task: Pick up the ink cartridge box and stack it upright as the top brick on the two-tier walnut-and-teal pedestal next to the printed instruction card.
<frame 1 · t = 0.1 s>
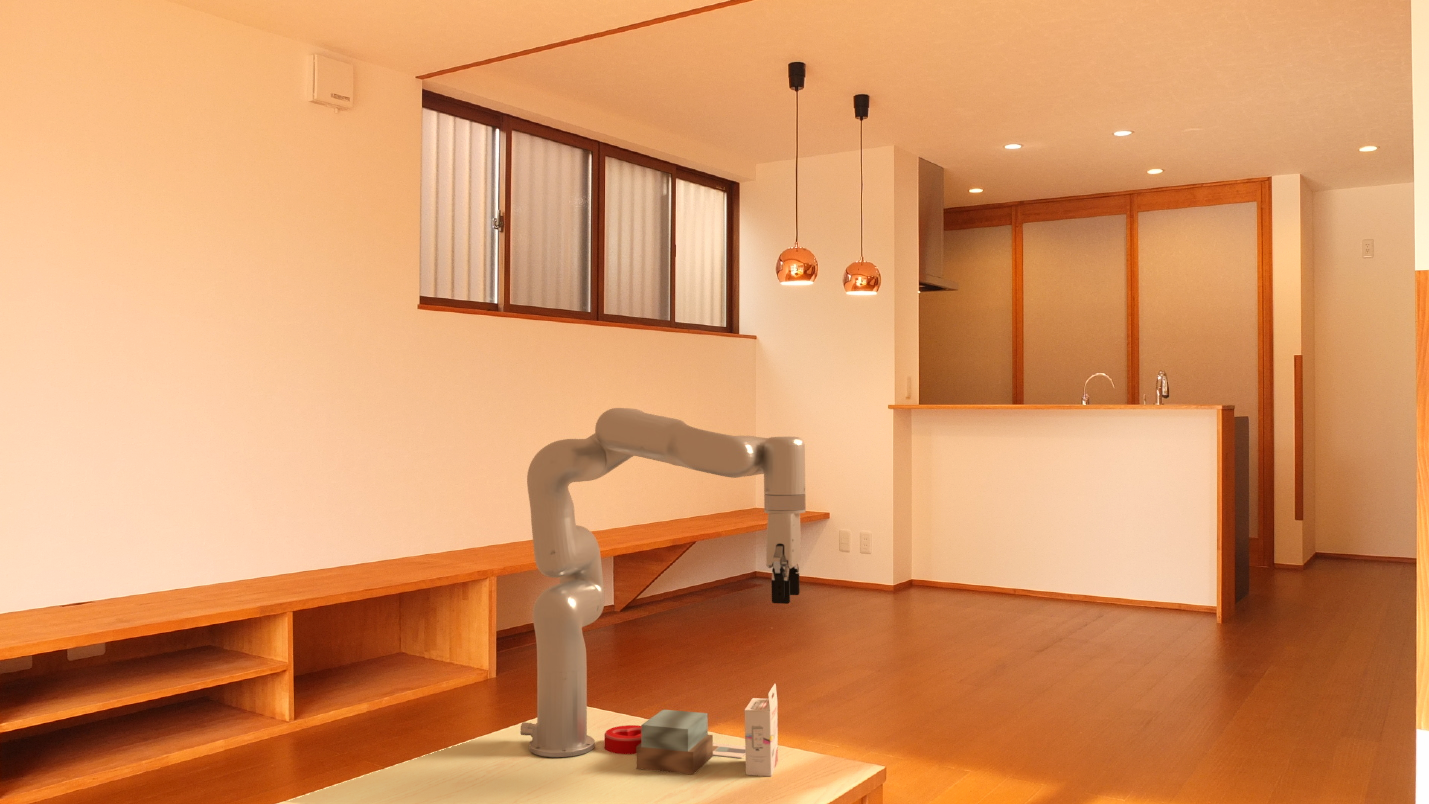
hand: (786, 598, 188), 31 cm above the table, fingers open, 9 cm apart
ink cartridge box: (761, 769, 189), on the table
instruction card: (721, 750, 199), on the table
pedestal: (675, 762, 192), on the table
decorative ornament: (629, 748, 202), on the table
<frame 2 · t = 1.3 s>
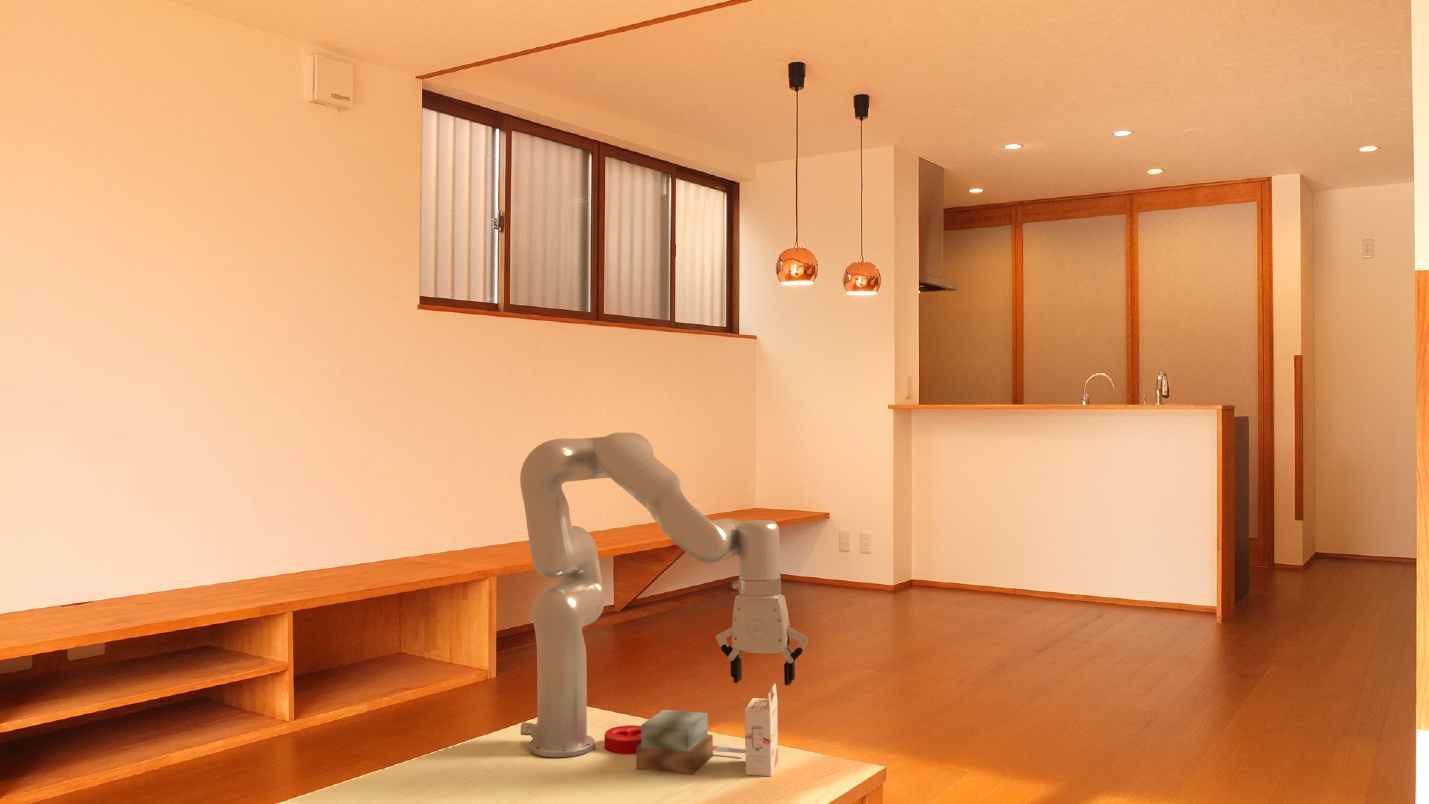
hand: (762, 682, 189), 16 cm above the table, fingers open, 9 cm apart
nothing on the table moved.
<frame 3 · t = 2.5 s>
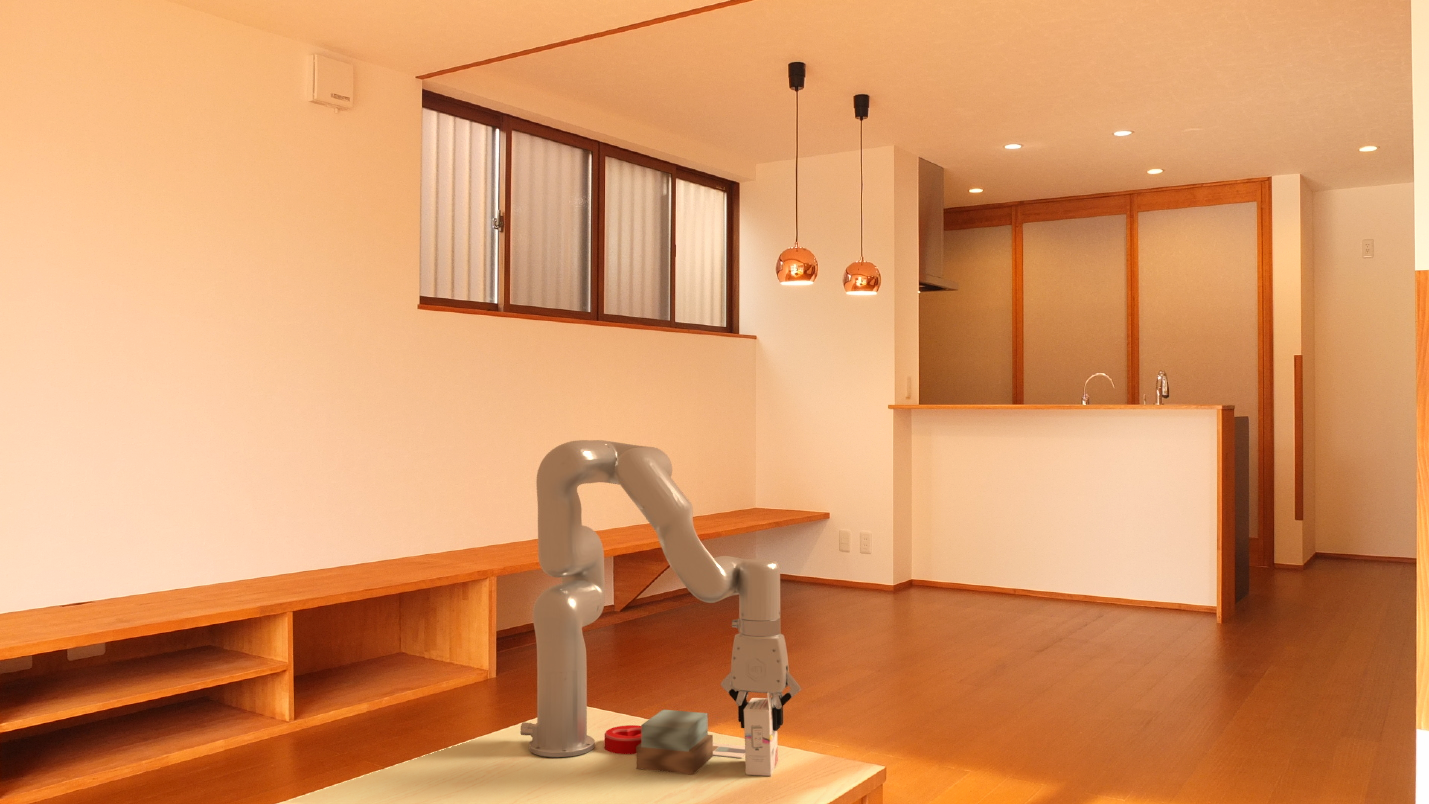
hand: (760, 726, 189), 8 cm above the table, fingers closed on ink cartridge box, 5 cm apart
ink cartridge box: (761, 769, 189), on the table, touching gripper
everything else where it was.
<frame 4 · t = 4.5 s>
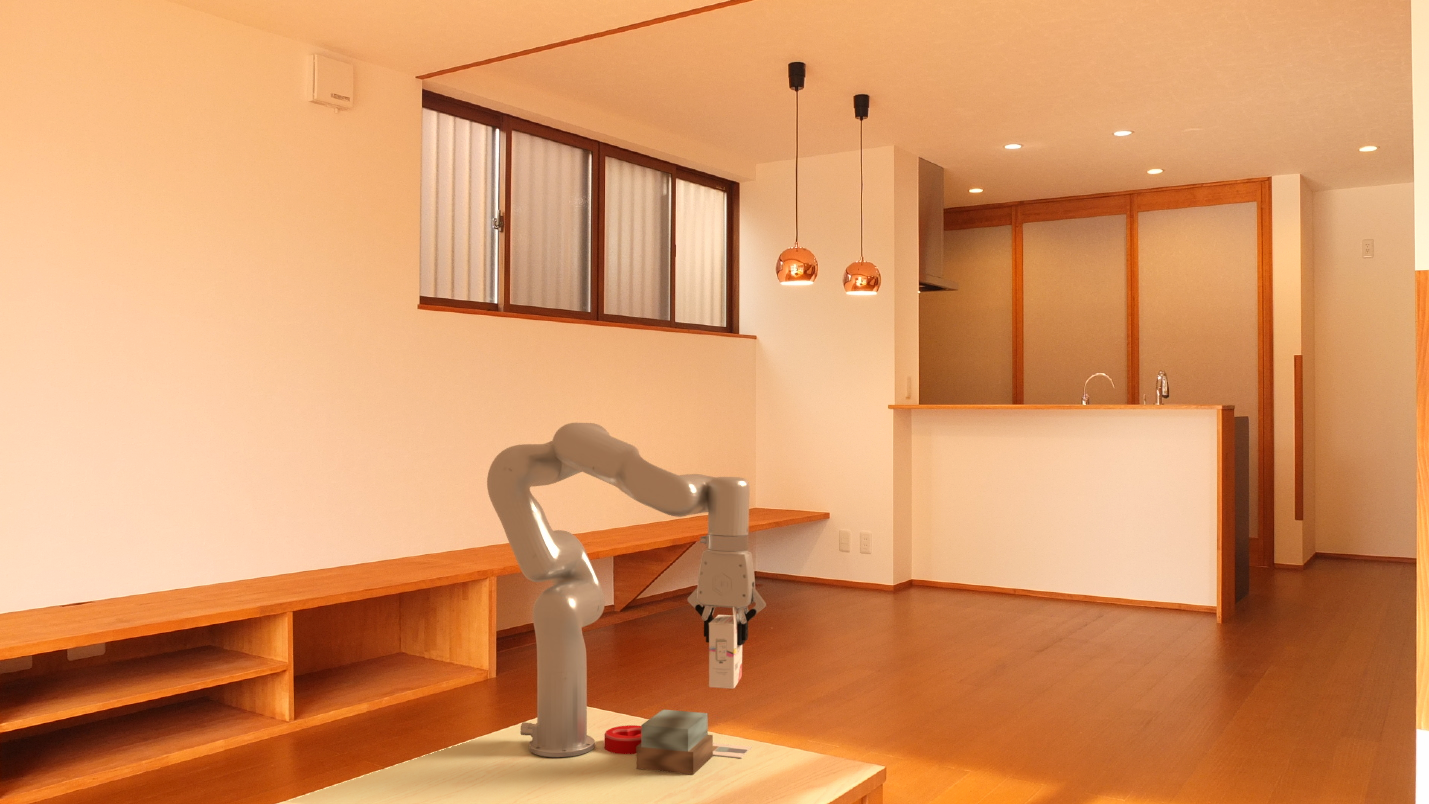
hand: (725, 641, 191), 23 cm above the table, fingers closed on ink cartridge box, 5 cm apart
ink cartridge box: (725, 683, 191), point 15 cm above the table, touching gripper
everything else where it was.
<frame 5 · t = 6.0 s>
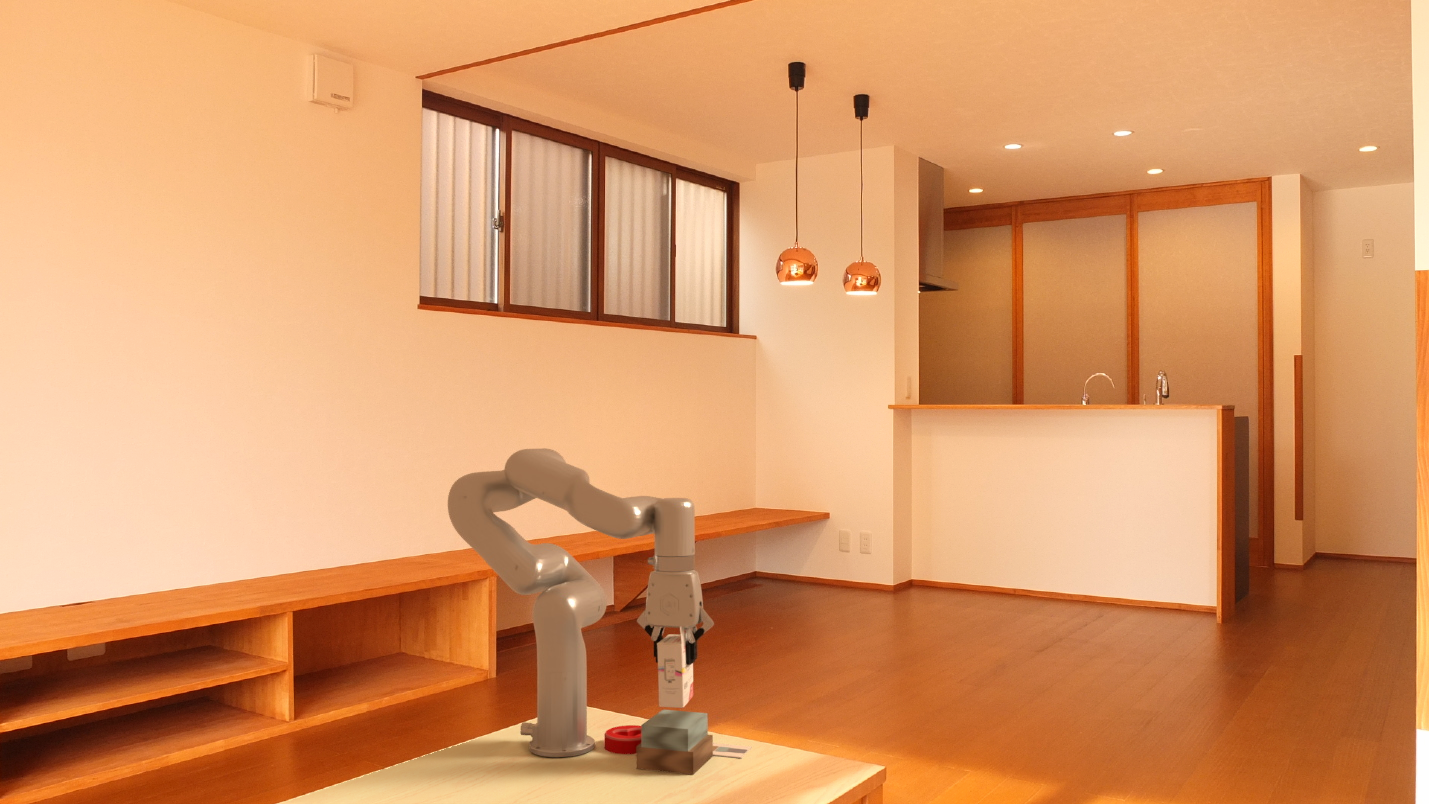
hand: (675, 661, 193), 19 cm above the table, fingers closed on ink cartridge box, 5 cm apart
ink cartridge box: (676, 703, 192), point 11 cm above the table, touching gripper
everything else where it was.
when the fingers open (16 cm above the table, at t = 6.8 s): ink cartridge box stays where it is, resting on pedestal.
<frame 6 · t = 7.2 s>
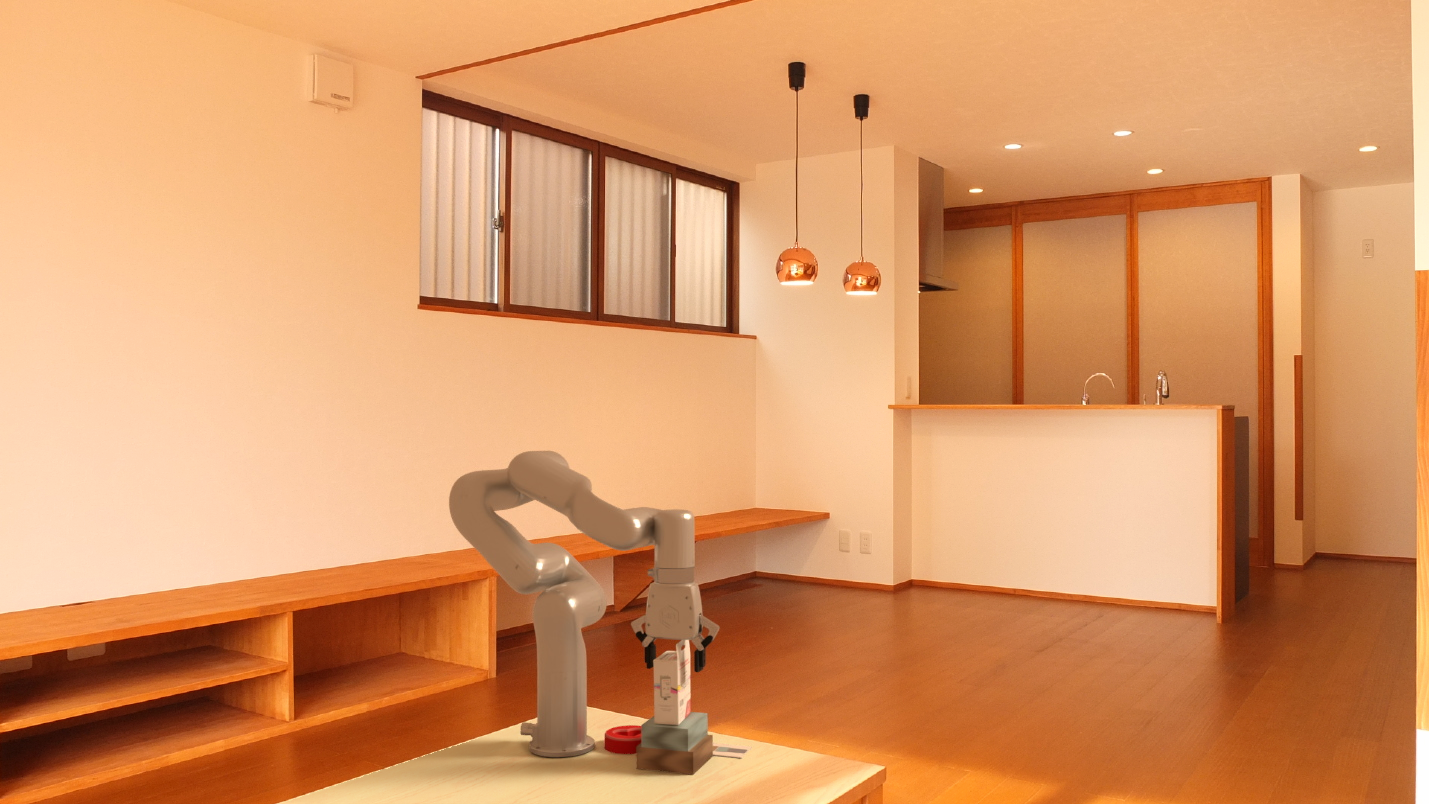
hand: (674, 668, 193), 17 cm above the table, fingers open, 9 cm apart
ink cartridge box: (672, 719, 193), point 8 cm above the table, touching pedestal
everything else where it was.
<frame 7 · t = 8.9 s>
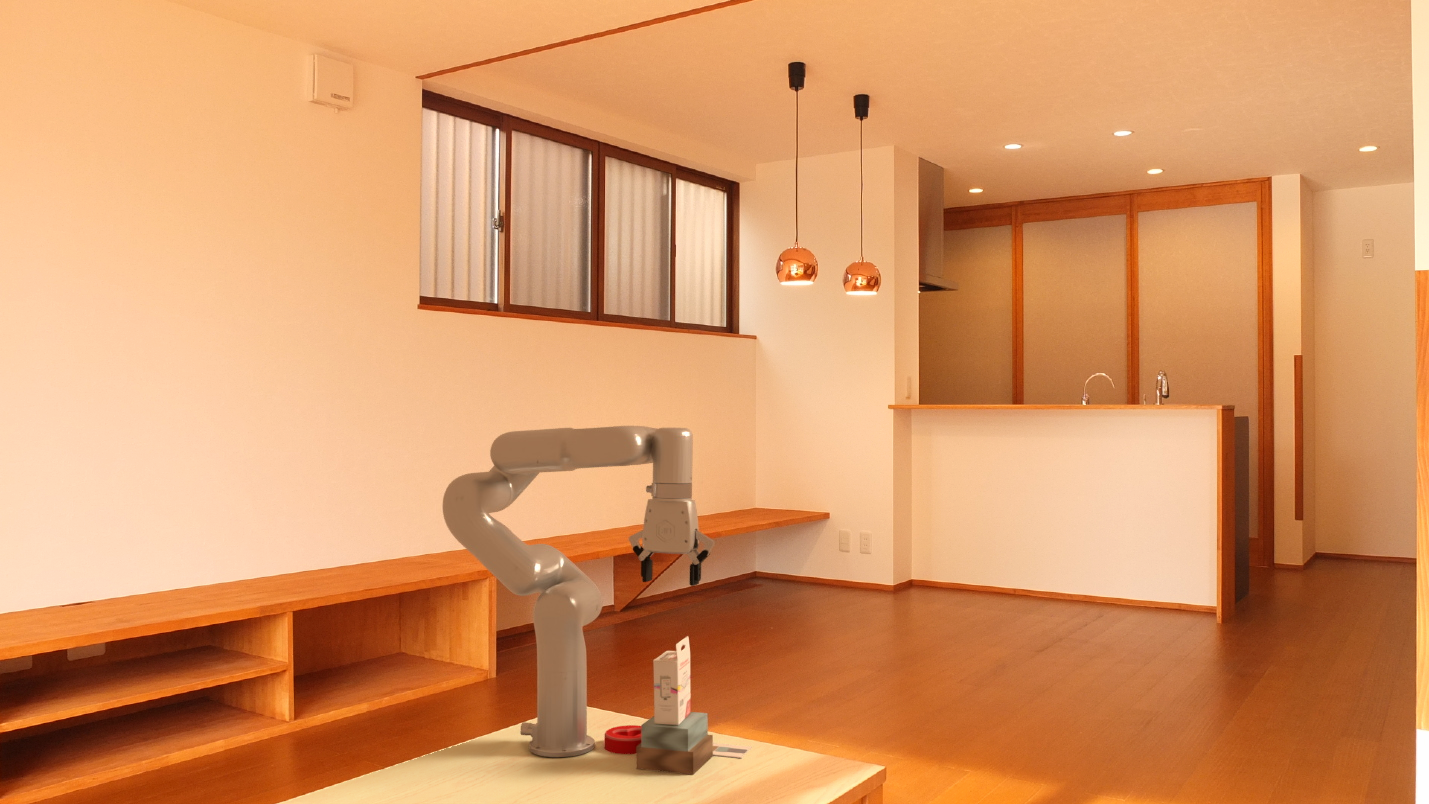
hand: (670, 583, 196), 33 cm above the table, fingers open, 9 cm apart
nothing on the table moved.
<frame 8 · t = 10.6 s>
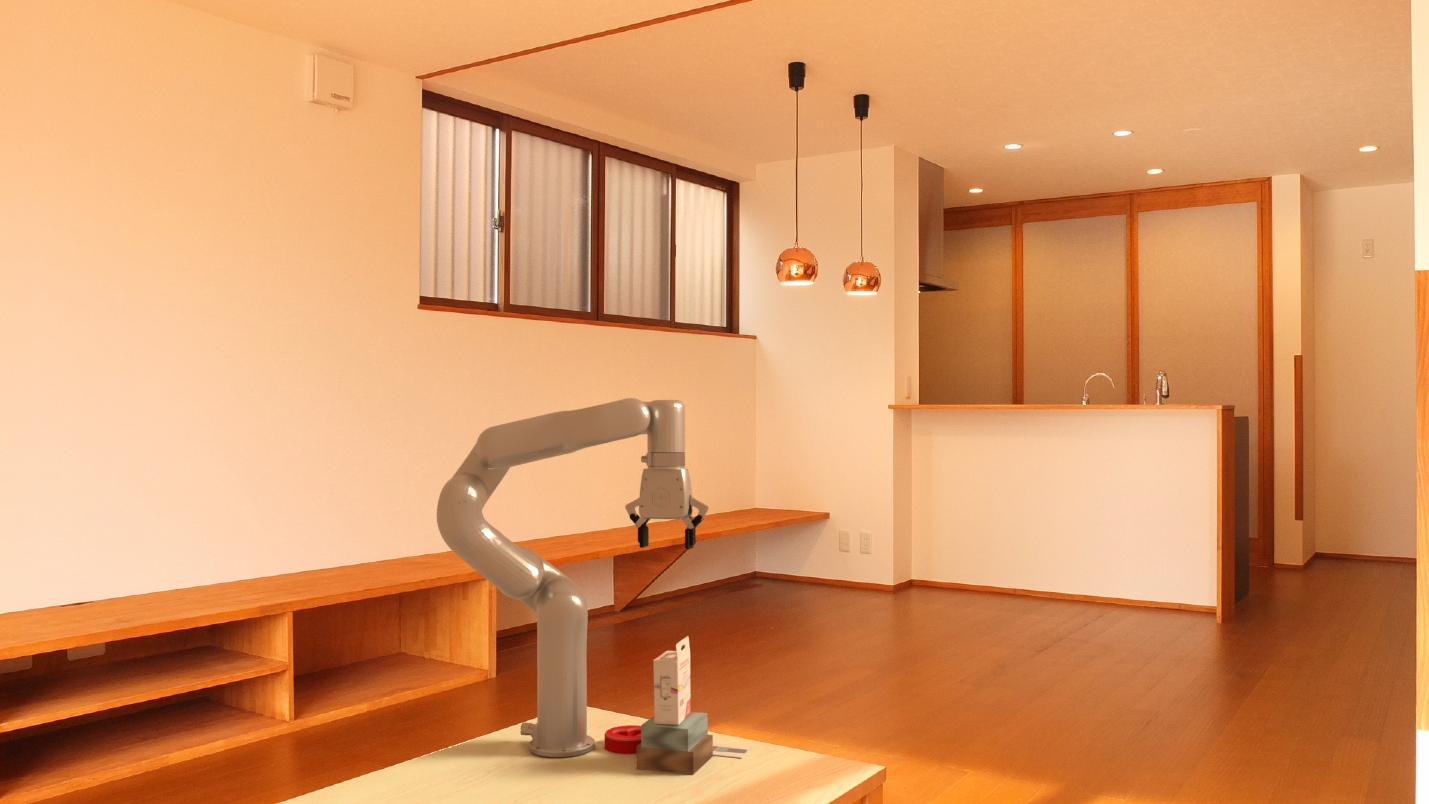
hand: (666, 547, 206), 38 cm above the table, fingers open, 9 cm apart
nothing on the table moved.
at the end: ink cartridge box inside the target area on the pedestal (0.6 cm from its centre), point 7.8 cm above the pedestal's base; ink cartridge box tilted 0°; the gripper is holding nothing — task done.
